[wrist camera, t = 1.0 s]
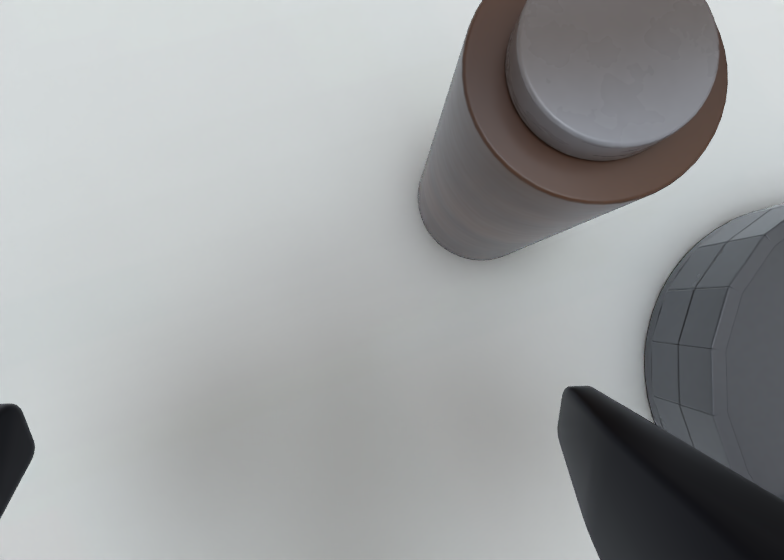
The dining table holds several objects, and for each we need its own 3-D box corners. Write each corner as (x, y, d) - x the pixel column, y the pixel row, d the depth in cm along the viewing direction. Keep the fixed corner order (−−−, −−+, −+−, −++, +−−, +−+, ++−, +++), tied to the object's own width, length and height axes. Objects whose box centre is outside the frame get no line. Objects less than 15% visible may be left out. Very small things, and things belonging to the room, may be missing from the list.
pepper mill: (558, 238, 22) (808, 142, 9) (439, 276, 22) (525, 231, 9) (519, 121, 23) (709, -132, 10) (401, 156, 22) (432, -53, 9)
